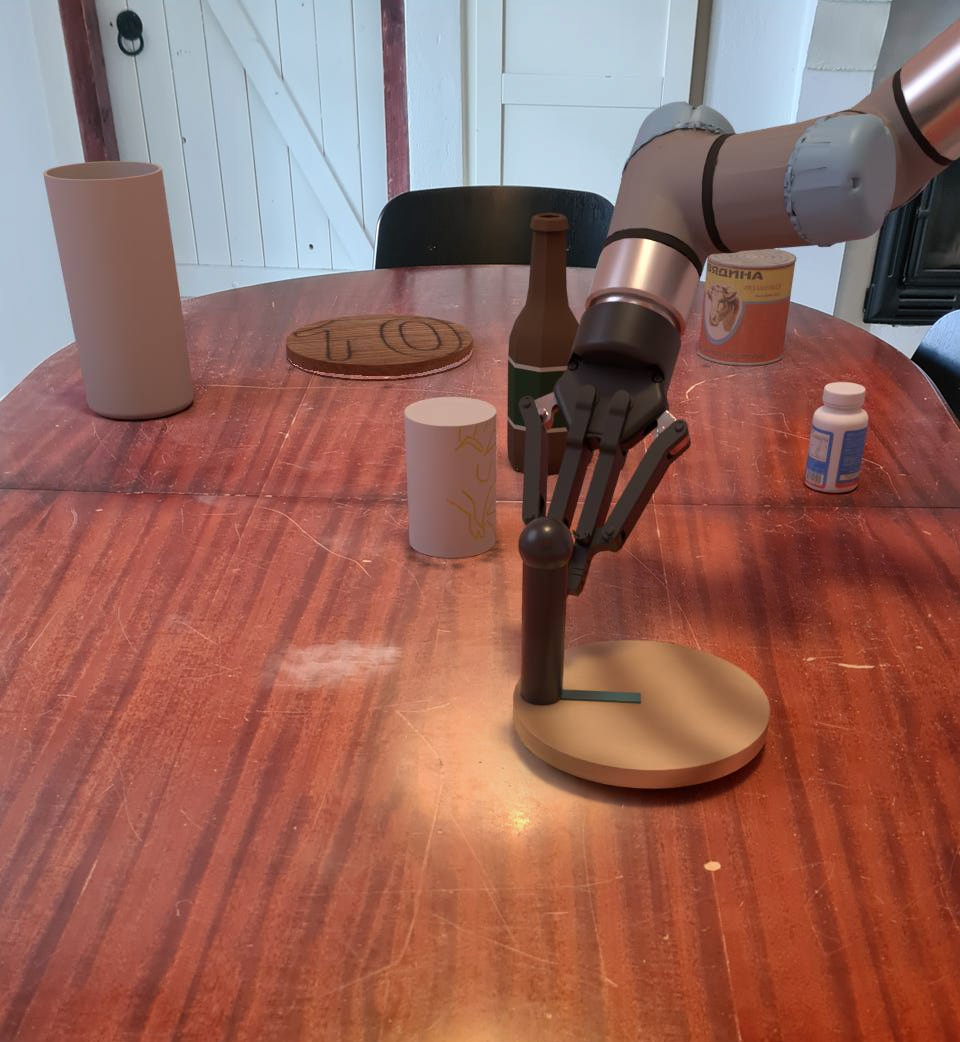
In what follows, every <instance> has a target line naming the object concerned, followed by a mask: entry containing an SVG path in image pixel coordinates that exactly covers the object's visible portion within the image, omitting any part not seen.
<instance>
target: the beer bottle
mask: <svg viewBox="0 0 960 1042" xmlns="http://www.w3.org/2000/svg"><path fill="white" fill-rule="evenodd" d="M529 228H530V229H531V230H532V236H531V237H532V238H531V249H530V250H531V251H530V264H529V277H528V289H527V294H526V298H525V299H526V300H525V305H524V306H523V307H522V309H521V311H520V312H519V314H518V315H517V317H516V319H514V323H513V326H512V328H511V331H510V334H509V337H508V338H509V339H508V340H509V341H508V349H507V350H508V352H507V415H506V416H507V417H506V418H507V419H506V421H507V424H506V425H507V427H506V428H507V429H506V432H507V433H506V445H507V446H506V448H507V459H508V461H509V463H510V465H511V466H512V467H513V469H514V471H516V472H521V473H524V456H525V432H526V426H525V423H524V420H523V417H522V414H521V411H520V409H519V401H520V400H521V398H523V397H524V396H531V397H532V398H533V399H534V400H536V399H538V398H540V397H543V396H545V395H547V394H550V393H552V392H553V390H554V386H555V384H556V382H557V381H558V380H559V379H560V378H561V377H562V376H563V374H564V373H565V371H566V369H567V366H568V361H569V357H570V354H571V350H572V347H573V344H574V340H575V337H576V333H577V330H578V327H579V323H580V322H579V321H578V320H577V317H576V316H575V315H574V312H573V311H572V309H571V308H570V304H569V296H568V287H567V286H568V284H567V283H568V282H567V281H568V280H567V239H566V238H567V237H566V236H567V235H566V232H567V231H568V229H570V225H569V221H568V217H567V216H566V215H564V214H561V213H557V212H541V213H538V214H535V215H533V216H532V217H531V220H530V223H529ZM546 431H547V435H548V441H549V450H548V476H549V475H559V471H560V468H561V464H562V461H563V457H564V454H565V450H566V441H567V435H568V432H567V429H566V427H565V424H564V421H563V419H562V416H561V414H560V411H559V410H558V411H557V412H556V413H555V414H554V423H553V425H552V427H551V429H549V430H546ZM517 469H518V470H517Z"/></svg>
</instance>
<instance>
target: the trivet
mask: <svg viewBox="0 0 960 1042" xmlns="http://www.w3.org/2000/svg"><path fill="white" fill-rule="evenodd" d="M472 348H473V349H474V337H473V335H472V332H471V331H470V330H469V329H467V328H466V327H464V326H463V325H462V324H461V325H460V324H458V323H456V322H452V321H450V320H446V319H441V318H436V317H431V316H422V315H414V314H393V313H382V314H381V313H380V314H379V313H377V314H359V315H348V316H340V317H335V318H328V319H324V320H319V321H316V322H313V323H308V324H306V325H304V326H301V327H299V328H297V329H295V330H293V331H292V332H291V333H290V334H289V335H288V336H286V338H285V349H286V350H285V351H286V360H287V361H288V362H289V363H290V364H291V365H292V366H293V367H295V368H297V369H299V370H301V371H302V372H305V373H309V374H312V375H316V376H321V377H326V378H331V379H338V380H339V379H340V380H349V381H396V380H398V381H399V380H406V379H415V378H422V377H426V376H432V375H436V374H441V373H444V372H448V371H451V370H453V369H457V368H459V367H460V366H462V365H463V364H465V363H467V362H469V361H470V360H471V357H472V356H473V355H474V352H473V353H472V355H471V356H470V358H469V359H468V360H467V361H465V362H463V363H462V364H460V365H459V366H456V367H453V368H450V369H447V370H445V371H441V372H437V373H432V374H427V375H423V376H415V377H406V378H398V379H350V378H340V377H332V376H325V375H320V374H317V373H313V372H309V371H305V370H303V369H307V370H313V371H319V372H325V373H335V374H344V375H362V376H401V375H409V374H417V373H423V372H427V371H431V370H434V369H439V368H442V367H445V366H447V365H450V364H453V363H455V362H459V361H460V360H462V359H463V358H465V357H466V356H467V355H469V354H470V352H471V350H472ZM287 357H288V358H289V359H290V360H291V361H292V363H293V364H295V365H298V366H299V367H302V368H303V369H301V368H299V367H297V366H295V365H293V364H292V363H291V362H290V361H289V360H288V359H287Z"/></svg>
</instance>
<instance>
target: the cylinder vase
mask: <svg viewBox="0 0 960 1042" xmlns="http://www.w3.org/2000/svg"><path fill="white" fill-rule="evenodd" d="M42 176H43V180H44V186H45V190H46V191H45V192H46V195H47V201H48V205H49V212H50V217H51V221H52V227H53V232H54V237H55V243H56V247H57V252H58V258H59V263H60V267H61V273H62V279H63V284H64V289H65V295H66V299H67V304H68V305H67V306H68V309H69V314H70V319H71V325H72V331H73V335H74V341H75V345H76V349H77V350H76V351H77V356H78V361H79V367H80V371H81V377H82V382H83V387H84V392H85V397H86V403H87V405H88V407H89V409H90V410H91V411H92V412H93V413H95V414H97V415H99V416H101V417H104V418H107V419H108V418H109V419H114V420H125V421H127V420H128V421H137V420H138V421H139V420H150V419H157V418H163V417H166V416H170V415H173V414H176V413H179V412H181V411H183V410H184V409H186V408H188V407H189V406H190V405H191V404H192V402H193V401H194V398H195V392H194V386H193V385H194V384H193V379H192V378H193V377H192V371H191V365H190V357H189V349H188V343H187V336H186V328H185V322H184V321H185V320H184V315H183V306H182V300H181V293H180V286H179V279H178V272H177V266H176V257H175V249H174V243H173V237H172V229H171V222H170V216H169V215H170V214H169V208H168V201H167V194H166V187H165V180H164V172H163V167H162V166H161V165H159V164H156V163H151V162H144V161H143V162H142V161H132V160H131V161H129V160H128V161H127V160H108V161H105V160H103V161H88V162H79V163H78V162H77V163H71V164H64V165H58V166H54V167H50V168H48V169H46V170H44V171H43V172H42Z"/></svg>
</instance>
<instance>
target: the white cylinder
mask: <svg viewBox="0 0 960 1042" xmlns="http://www.w3.org/2000/svg"><path fill="white" fill-rule="evenodd" d="M403 416H404V439H405V440H404V441H405V443H404V444H405V465H406V490H407V493H406V494H407V513H408V540H409V545H410V546H411V548H412V549H413V550H414V551H416V552H418V553H420V554H422V555H425V556H429V557H433V558H440V559H441V558H443V559H462V558H469V557H474V556H478V555H482V554H485V553H486V552H488V551H489V550H491V549H492V548H493V547H494V546H495V545H496V543H497V408H496V407H495V405H493V404H491V403H490V402H488V401H484V400H483V399H482V400H481V399H478V398H472V397H465V396H439V397H431V398H425V399H422V400H418V401H415V402H412V403H410V404H409V405H407V406H406V407H405V409H404V410H403Z"/></svg>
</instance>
